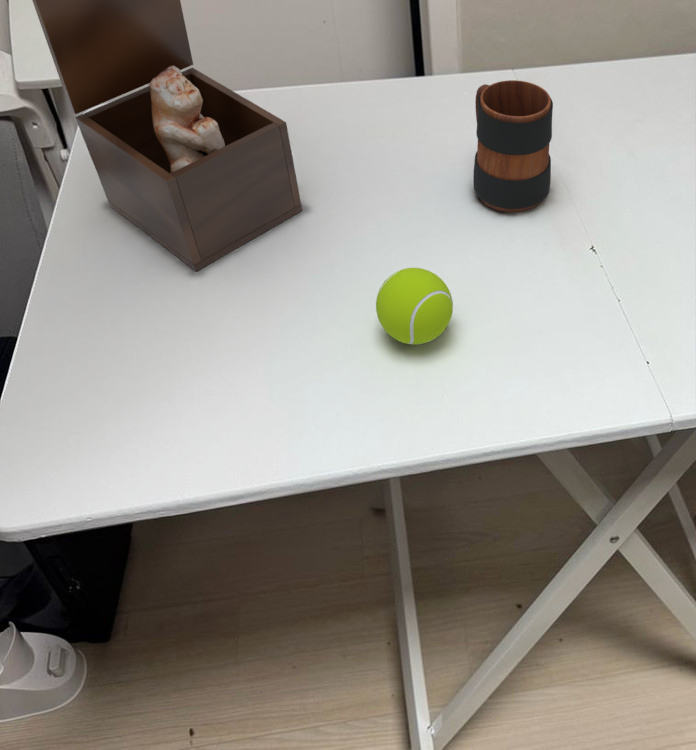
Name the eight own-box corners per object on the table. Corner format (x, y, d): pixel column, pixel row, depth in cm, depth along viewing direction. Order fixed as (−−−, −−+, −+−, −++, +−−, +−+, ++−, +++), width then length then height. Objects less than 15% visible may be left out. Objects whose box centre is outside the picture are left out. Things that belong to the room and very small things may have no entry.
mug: (509, 148, 100) (513, 56, 91) (563, 201, 93) (573, 107, 84) (446, 168, 97) (443, 74, 88) (497, 224, 90) (500, 129, 81)
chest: (302, 210, 91) (286, 122, 83) (196, 271, 84) (167, 181, 76) (215, 154, 98) (192, 67, 90) (110, 206, 91) (74, 116, 82)
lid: (160, -99, 76) (126, -120, 78) (16, -57, 69) (-18, -81, 71) (193, 64, 89) (163, 43, 91) (75, 114, 82) (45, 90, 84)
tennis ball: (468, 334, 79) (468, 278, 74) (412, 371, 76) (408, 316, 70) (419, 297, 82) (416, 242, 77) (364, 331, 79) (356, 276, 74)
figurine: (230, 232, 87) (195, 101, 76) (165, 218, 88) (121, 87, 77) (258, 198, 91) (228, 70, 80) (195, 185, 92) (158, 57, 81)
